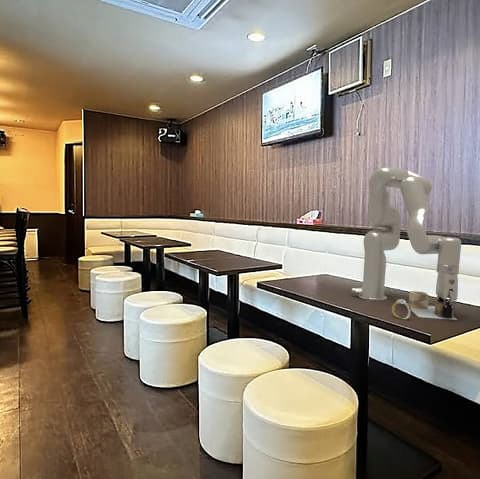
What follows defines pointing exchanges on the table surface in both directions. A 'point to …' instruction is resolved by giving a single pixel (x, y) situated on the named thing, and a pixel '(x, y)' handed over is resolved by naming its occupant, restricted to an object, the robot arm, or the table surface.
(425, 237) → the robot arm
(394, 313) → the bracelet
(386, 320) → the table surface
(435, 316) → the board
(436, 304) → the walnut block
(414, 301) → the base block
